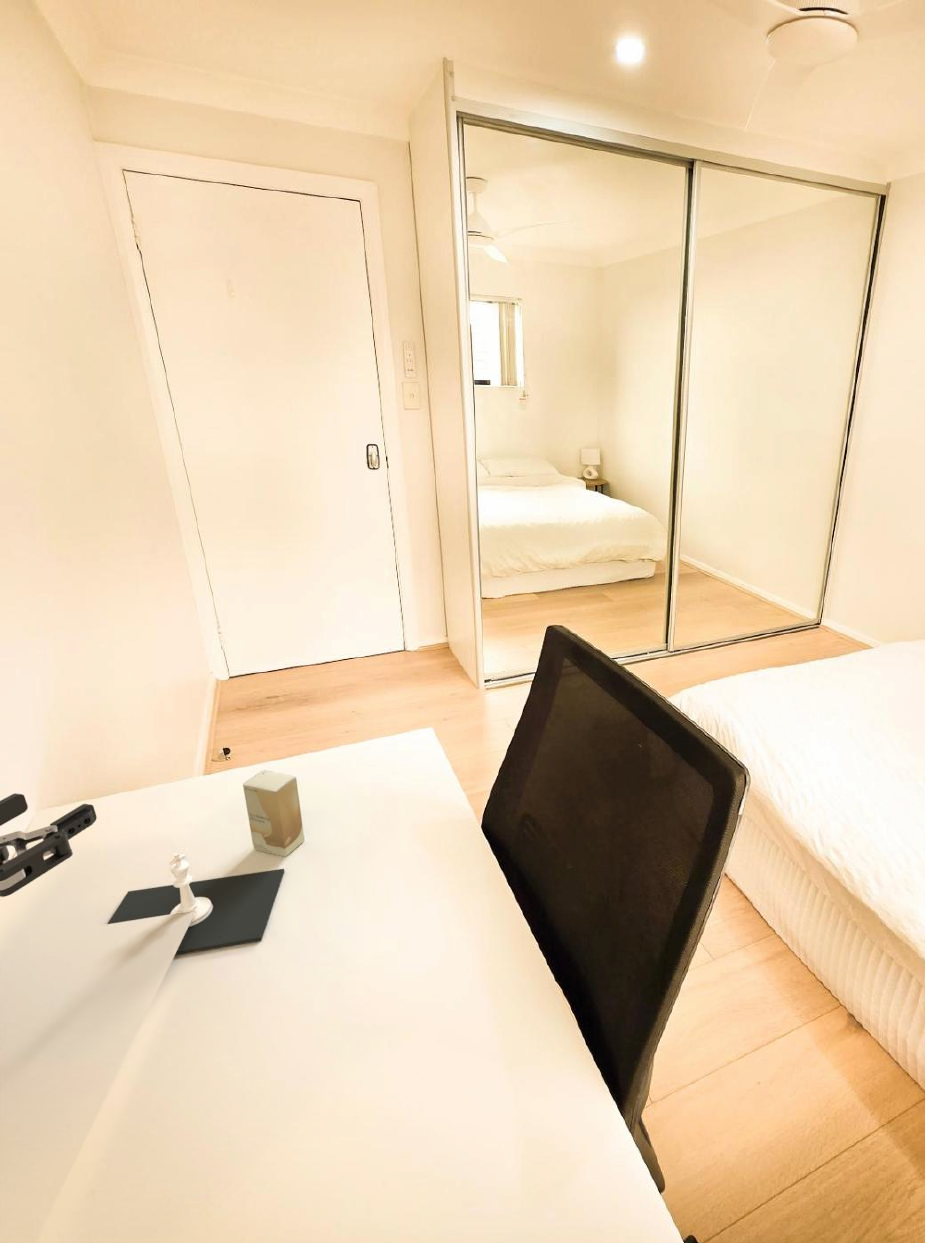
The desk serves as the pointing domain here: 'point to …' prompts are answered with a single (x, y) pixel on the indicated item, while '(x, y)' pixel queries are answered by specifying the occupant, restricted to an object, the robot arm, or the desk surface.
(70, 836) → the robot arm
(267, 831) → the cosmetic box
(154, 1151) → the desk surface
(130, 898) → the mat
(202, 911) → the chess piece
